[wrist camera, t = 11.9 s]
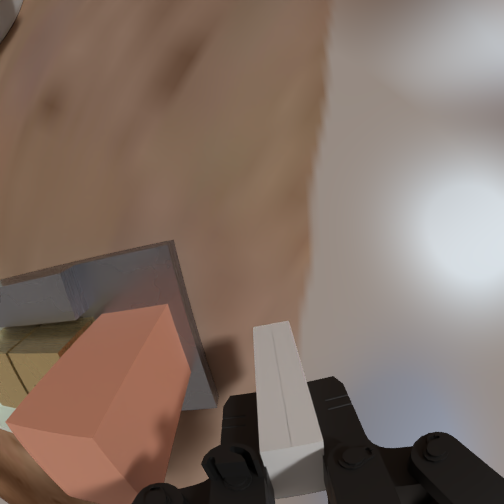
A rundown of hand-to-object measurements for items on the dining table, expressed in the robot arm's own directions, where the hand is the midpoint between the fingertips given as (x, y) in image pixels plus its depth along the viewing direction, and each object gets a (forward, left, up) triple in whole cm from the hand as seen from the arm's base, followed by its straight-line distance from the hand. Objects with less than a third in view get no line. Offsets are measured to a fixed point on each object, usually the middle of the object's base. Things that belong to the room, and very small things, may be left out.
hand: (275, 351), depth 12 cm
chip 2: (-11, 0, -2) cm, 12 cm away
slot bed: (-11, 0, -4) cm, 12 cm away
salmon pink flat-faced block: (-7, 0, -2) cm, 7 cm away
